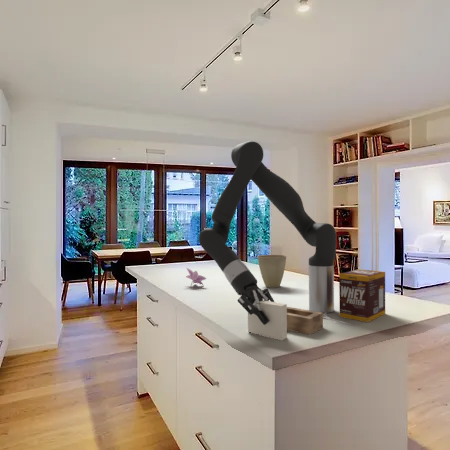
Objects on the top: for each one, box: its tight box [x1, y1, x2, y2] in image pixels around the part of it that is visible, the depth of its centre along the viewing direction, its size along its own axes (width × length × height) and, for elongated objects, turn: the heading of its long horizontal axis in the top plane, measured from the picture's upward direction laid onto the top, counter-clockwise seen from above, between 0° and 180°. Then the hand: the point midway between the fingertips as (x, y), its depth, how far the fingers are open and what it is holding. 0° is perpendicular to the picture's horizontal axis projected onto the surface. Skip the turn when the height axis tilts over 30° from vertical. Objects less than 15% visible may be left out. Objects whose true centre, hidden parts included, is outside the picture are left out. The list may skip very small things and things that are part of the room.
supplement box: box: [338, 268, 386, 323], centre depth 129 cm, size 10×15×16 cm
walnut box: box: [287, 306, 324, 335], centre depth 118 cm, size 20×9×5 cm, turn 50°
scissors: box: [323, 313, 350, 328], centre depth 125 cm, size 11×1×20 cm
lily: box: [185, 267, 207, 286], centre depth 189 cm, size 12×12×10 cm
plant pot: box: [257, 254, 287, 288], centre depth 187 cm, size 15×15×16 cm
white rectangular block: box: [247, 299, 288, 341], centre depth 109 cm, size 12×3×10 cm, turn 50°
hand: (272, 320), depth 108 cm, fingers open, 5 cm apart
